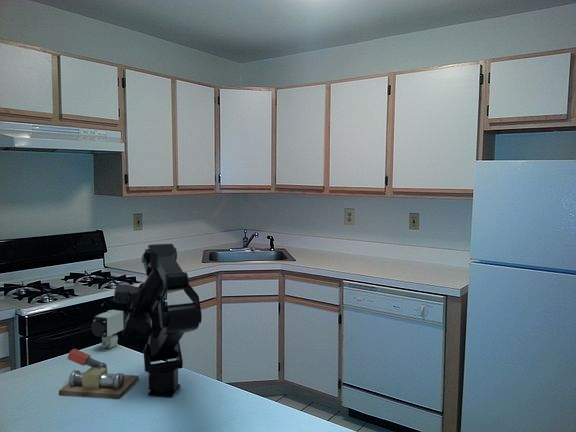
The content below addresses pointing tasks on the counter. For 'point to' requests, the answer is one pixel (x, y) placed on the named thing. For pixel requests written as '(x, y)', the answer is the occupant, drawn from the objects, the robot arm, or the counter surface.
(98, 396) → the mounting board
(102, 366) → the lever
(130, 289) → the robot arm
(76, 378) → the valve body
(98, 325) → the pneumatic valve
